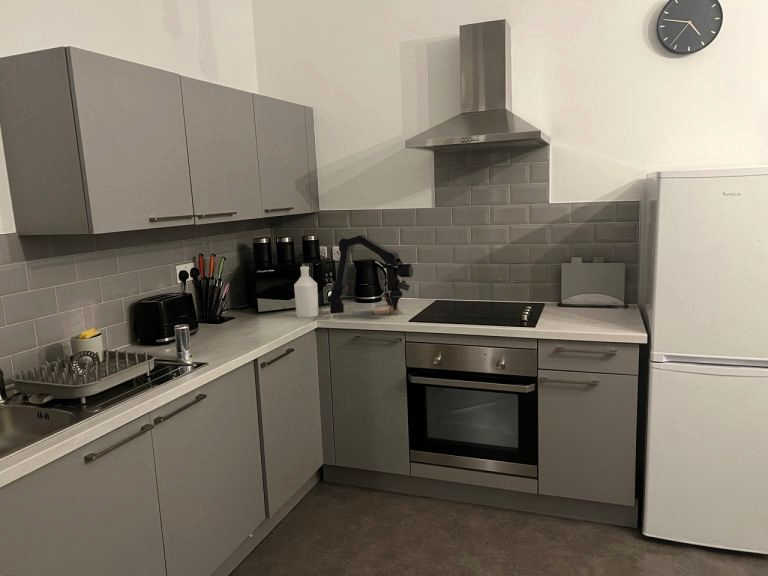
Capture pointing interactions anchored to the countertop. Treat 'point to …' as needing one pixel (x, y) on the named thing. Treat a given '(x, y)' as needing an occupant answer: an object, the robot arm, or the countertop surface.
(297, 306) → the bottle
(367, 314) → the mat
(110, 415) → the countertop surface
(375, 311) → the tile
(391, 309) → the cube
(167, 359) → the countertop surface
